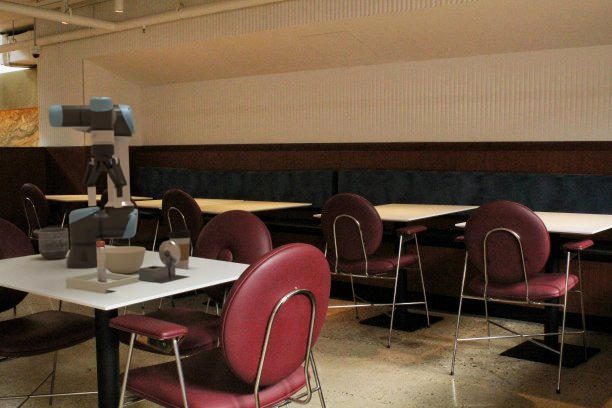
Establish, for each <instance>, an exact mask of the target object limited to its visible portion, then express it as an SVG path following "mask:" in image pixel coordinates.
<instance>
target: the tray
mask: <svg viewBox="0 0 612 408" xmlns="http://www.w3.org/2000/svg"><path fill="white" fill-rule="evenodd" d="M138 277H139V276H137V275H129V274H115V273H111V272H107V271H106V280H107V279H108V280H113V281H108V282H107V283H103V282H98V281H94V280H93V279H98V271H96V272H90V273H85V274H80V275H79V274H78V275H75V276H70V277H66V279H65V283H66V285H65V286H66V288H67V289H73V290H80V291H87V292H93V293H98V294H105V295H107V294H111V293H115V292H117V290H112V289H114V288H118V287H123V286H126V285H127V286H128V285H132V284H136V283H139V280H138Z"/></svg>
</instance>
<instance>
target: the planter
mask: <svg viewBox="0 0 612 408" xmlns="http://www.w3.org/2000/svg"><path fill="white" fill-rule="evenodd" d="M37 232H38V251H39V253H40V255H41V257H42V258H43V259H44V260H45V259H46V261H56V260H63V259H65V258H66V256H67V255H68V254H69V251H70V242H69V241H70V239H69V228H68V227H48V228H47V227H46V228H40V229H38V230H37Z"/></svg>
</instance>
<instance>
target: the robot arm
mask: <svg viewBox="0 0 612 408" xmlns="http://www.w3.org/2000/svg"><path fill="white" fill-rule="evenodd" d="M88 101H89V102H88V103H89V105H88V104H87V105H86V104H84V105H83V104H82V105H81V104H79V105H78V104H77V105H75V104H74V105H70V104H67V105H66V104H64V105H61V104H56V105H50V106H49V108H48V113H47V115H48V123H49V125H50V127H52V128H71V129H72V130H74V131H77V132H81V133H86V134H90V142H91V143H92V144H91V145H90V151H91V152H90V153H91V155H92V156H93V157H88V158H87V165H86V168H85V172H84V176H83V179H82V185H83V186H85V187H86V193H87V194H86V195H87V203H88V204H87V205H88V207H86V208H79V209H75V210H72V211H71V212H70V213H69V217H68V218H69V220H68V221H69V222H68V224H69V241H70V242H69V251H68V254H67V255H68V256H67V259H66V267H67V268H70V269H89V268H97V248H96V247H97V244H96V241H101V240H107V239H130V238H134V236H135V235H136V234H137V227H138V217H139V216H138V215H139V209H137V208H135V204H134V203H133V202H132V201H131V188H130V162H129V160H130V156H129V155H130V154H129V152H130V151H129V142H130V141H131V140H132V138H133V135H134V134H136V126H135V119H134V113H133V110H132V107H131V106H130V105H127V104H113V99H112V98H111V97H107V96H94V97H90V99H89V100H88ZM102 172H105V173H106V174H107V176H106V177H107V195H108V196H107V198H108V199H107V200H108V201H107V203H106V204H105V205H104V209H103V210H100V207H99V206H97V189H96V188H97V187H96V182H97V181H98V178H99V176H100V174H101V173H102Z"/></svg>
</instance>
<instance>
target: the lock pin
mask: <svg viewBox="0 0 612 408" xmlns="http://www.w3.org/2000/svg"><path fill="white" fill-rule="evenodd" d="M96 244H97V247H96V248H97V267H96V269H97V271H96V272H98V278H97V282H103V283H107V278H106V272H107V269H106V256H105V249H106V241H105V240H100V241H96Z"/></svg>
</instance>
